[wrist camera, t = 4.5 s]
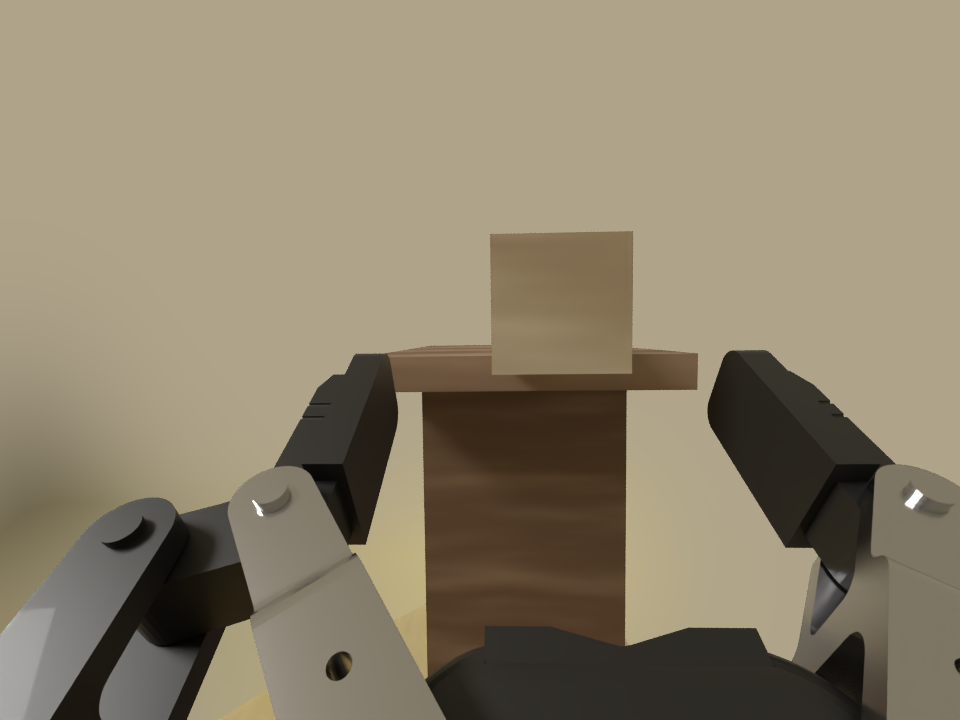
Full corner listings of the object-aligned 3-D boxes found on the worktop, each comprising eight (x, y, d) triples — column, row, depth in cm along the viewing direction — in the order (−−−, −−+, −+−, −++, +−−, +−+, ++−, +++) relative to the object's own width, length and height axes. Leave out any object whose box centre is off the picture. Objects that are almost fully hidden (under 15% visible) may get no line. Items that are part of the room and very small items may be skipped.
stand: (686, 1055, 20) (697, 353, 18) (381, 1044, 20) (362, 357, 18) (589, 693, 40) (590, 344, 38) (437, 691, 40) (430, 345, 38)
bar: (631, 373, 9) (633, 231, 9) (492, 374, 9) (489, 234, 9) (519, 342, 49) (519, 316, 49) (492, 343, 49) (492, 316, 49)
